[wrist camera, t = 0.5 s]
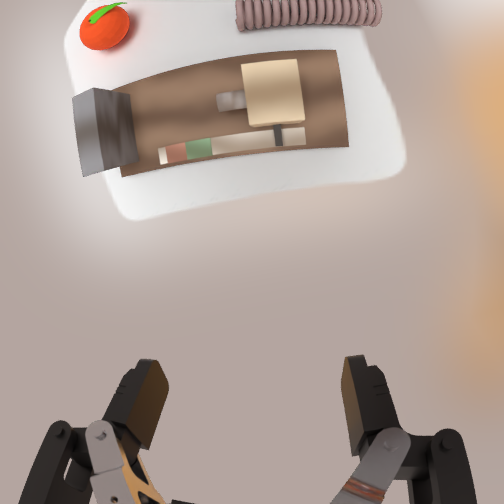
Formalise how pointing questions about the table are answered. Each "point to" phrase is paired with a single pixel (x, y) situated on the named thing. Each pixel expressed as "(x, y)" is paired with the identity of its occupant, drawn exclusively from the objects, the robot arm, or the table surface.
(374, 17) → the coil
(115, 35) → the clementine
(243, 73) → the block
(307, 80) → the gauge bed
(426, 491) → the robot arm
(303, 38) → the table surface
